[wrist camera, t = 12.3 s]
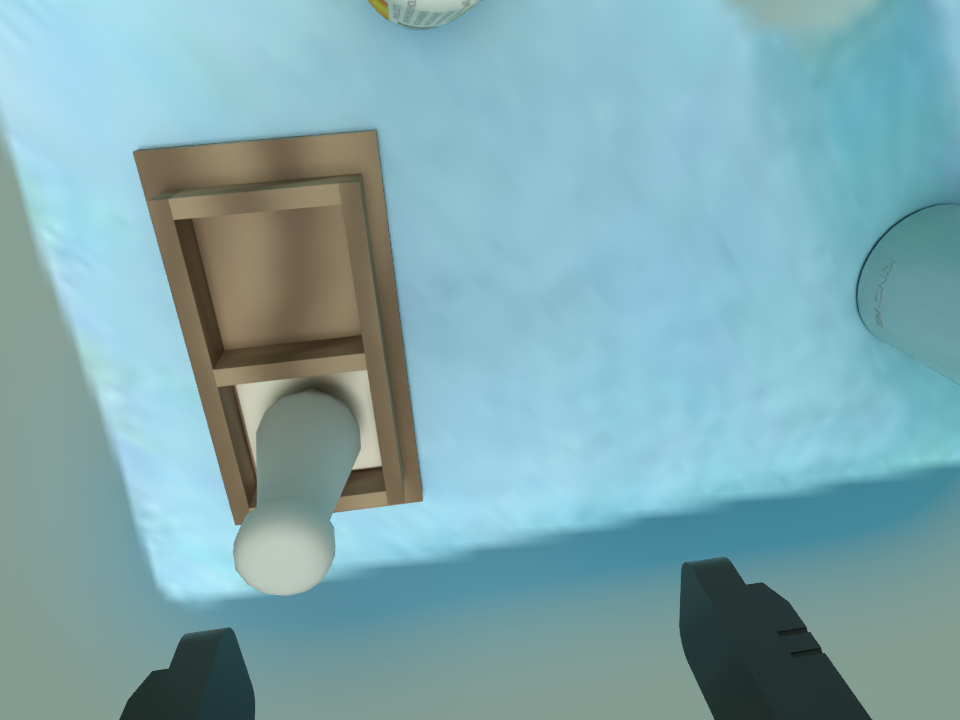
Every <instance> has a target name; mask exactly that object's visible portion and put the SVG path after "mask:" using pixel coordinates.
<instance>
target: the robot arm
mask: <svg viewBox="0 0 960 720" xmlns="http://www.w3.org/2000/svg"><path fill="white" fill-rule="evenodd" d="M857 301H858V307H859V313H860V315H861V318H862V320H863V322H864V324H865V326H866V327H867V328H868V329H869V330H870V332H871V333H872V334H874V335H875V336H876V337H878V338H879V339H881V340H882V341H884V342H886V343H888V344H889V345H891V346H893V347H895V348H896V349H898V350H900V351H902V352H903V353H905V354H907V355H909V356H910V357H912V358H914V359H916V360H917V361H919V362H920V363H922V364H924V365H925V366H927V367H929V368H931V369H932V370H934V371H936V372H938V373H939V374H941V375H943V376H945V377H946V378H948V379H950V380H952V381H953V382H955V383H957V384H959V385H960V205H956V204H944V205H936V206H932V207H929V208H926V209H922V210H920V211H918V212H916V213H914V214H912V215H910V216H908V217H906V218H905V219H904V220H902V221H901V222H900V223H898V224H897V225H896V226H894V227H893V228H892V229H891V230H890V231H889V232H888V233H887V234H886V235H885V236H884V237H883V238H882V239H881V240H880V241H879V243H878V244H877V245H876V247H875V248H874V250H873V251H872V253H871V254H870V255H869V258H868V260H867V262H866V264H865V266H864V268H863V270H862V274H861V277H860V281H859V285H858V297H857ZM680 594H681V595H680V620H679V622H680V623H679V628H680V636H681V641H682V646H683V649H684V653H685V656H686V659H687V661H688V664H689V666H690V668H691V670H692V672H693V674H694V676H695V679H696V681H697V683H698V685H699V687H700V689H701V691H702V694H703V696H704V698H705V700H706V702H707V704H708V706H709V709H710V711H711V713H712V715H713V717H714V719H715V720H872V719H871V718H870V716H869V715H868V713H867V712H866V711H865V709H864V708H863V706H862V705H861V704H860V702H859V701H858V699H857V698H856V696H855V695H854V694H853V692H852V691H851V689H850V688H849V686H848V685H847V684H846V682H845V681H844V679H843V678H842V677H841V675H840V674H839V672H838V671H837V669H836V668H835V667H834V666H833V664H832V662H831V661H830V660H829V658H828V657H827V655H826V654H825V653H822V650H821V647H820V645H819V644H818V643H817V641H816V640H815V638H814V637H813V635H812V634H811V633H810V632H808V631H807V627H806V626H805V624H804V623H803V621H802V620H801V619H800V617H799V616H798V614H797V613H796V612H795V610H794V609H793V607H792V606H791V604H790V603H789V602H788V601H787V600H785V599H784V598H782V597H781V596H780V595H779V594H777V593H776V592H775V591H773V590H772V589H770V588H769V587H768V586H766V585H765V584H764V583H755V584H748V585H746V584H745V583H744V581H743V580H742V578H741V576H740V575H739V573H738V572H737V570H736V569H735V567H734V566H733V564H732V563H731V562H730V561H729V559H728V558H726V557H720V558H713V559H706V560H699V561H692V562H685V563H684V564H683V565H682V569H681V593H680ZM119 720H255V697H254V691H253V687H252V683H251V680H250V678H249V674H248V671H247V668H246V666H245V663H244V659H243V656H242V653H241V650H240V648H239V644H238V641H237V638H236V635H235V633H234V631H233V630H232V629H231V628H222V629H215V630H208V631H201V632H194V633H188V634H185V635H184V636H183V637H182V638H181V640H180V642H179V644H178V647H177V649H176V652H175V654H174V657H173V659H172V662H171V665H170V667H169V669H163V670H157V671H152V672H151V673H150V675H149V676H148V677H147V678H146V679H145V680H144V682H143V683H142V684H141V685H140V686H139V687H138V689H137V690H136V691H135V692H134V693H133V695H132V696H131V697H130V698H129V699H128V701H127V703H126V706H125V708H124V710H123V713H122V715H121V717H120V719H119Z"/></svg>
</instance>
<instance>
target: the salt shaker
mask: <svg viewBox="0 0 960 720" xmlns="http://www.w3.org/2000/svg"><path fill="white" fill-rule="evenodd" d="M360 450H361V440H360V427H359V424H358V422H357V420H356V419H355V417H354V415H353V414H352V412H351V411H350V409H349V407H348V406H347V405H346V404H345V403H344V402H343V401H342V400H341V399H340V398H337V397H335V396H332V395H329V394H327V393H324V392H321V391H319V390H316V389H314V388H309V389H307V390H305V391H303V392H300V393H295V394H291V395H287V396H284V397H282V398H281V399H280V400H278V401H277V402H276V403H275V404H273V405H272V406H271V407H269V408H268V409H267V410H266V411H265V413H264V415H263V417H262V419H261V422H260V424H259V426H258V429H257V431H256V463H257V507H256V508H255V509H254V510H252V511H251V512H249V513H248V514H247V515H246V516H245V518H244V520H243V522H242V525H241V527H240V529H239V532H238V534H237V536H236V539H235V541H234V549H233V555H234V562H235V569H236V571H237V572H238V573H239V575H240V576H241V577H242V578H243V579H244V581H245V582H246V583H247V584H248V585H250V586H252V587H254V588H256V589H258V590H260V591H262V592H264V593H266V594H275V595H285V596H288V595H292V594H297V593H301V592H305V591H308V590H310V589H311V588H312V587H314V586H315V585H316V584H318V583H319V582H321V581H322V580H323V579H324V577H325V575H326V573H327V571H328V570H329V568H330V566H331V564H332V561H333V559H334V556H335V536H334V527H333V525H332V523H331V522H330V518H331V516H332V514H333V511H334V509H335V507H336V505H337V502H338V500H339V498H340V495H341V493H342V491H343V489H344V486H345V484H346V482H347V480H348V477H349V475H350V473H351V470H352V468H353V466H354V464H355V461H356V459H357V457H358V455H359V452H360Z"/></svg>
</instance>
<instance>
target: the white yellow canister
mask: <svg viewBox="0 0 960 720" xmlns="http://www.w3.org/2000/svg"><path fill="white" fill-rule="evenodd" d="M368 1H369V2H370V4H371V5H372V6H373V7H374V8H375V9H376V11H378V12H379V13H380V14H381V15H382V16H383V17H385V18H386V19H388V20H389V21H391V22H393V23H395V24H397V25H399V26H402V27H405V28H409V29H416V30H426V29H433V28H437V27H440V26H442V25H445V24H447V23H449V22H450V21H452V20H454V19H455V18H456V17H458V16H459V15H461V14H462V13H464V12H465V11H467V10H468V9H470V8H471V7H473V6H474V5H476V4H477V3H479V2H480V1H482V0H368Z"/></svg>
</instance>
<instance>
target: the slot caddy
mask: <svg viewBox="0 0 960 720" xmlns="http://www.w3.org/2000/svg"><path fill="white" fill-rule="evenodd" d="M133 155H134V158H135V162H136V166H137V169H138V173H139V176H140V180H141V184H142V187H143V191H144V195H145V198H146V202H147V206H148V209H149V213H150V216H151V220H152V224H153V227H154V231H155V235H156V238H157V242H158V246H159V249H160V253H161V257H162V260H163V264H164V267H165V271H166V275H167V278H168V282H169V286H170V289H171V293H172V297H173V300H174V304H175V307H176V311H177V315H178V318H179V322H180V326H181V329H182V333H183V337H184V340H185V344H186V348H187V351H188V355H189V358H190V362H191V366H192V369H193V373H194V377H195V380H196V384H197V388H198V391H199V395H200V398H201V402H202V406H203V409H204V413H205V417H206V420H207V424H208V428H209V431H210V435H211V439H212V442H213V446H214V449H215V453H216V457H217V460H218V464H219V468H220V471H221V475H222V479H223V482H224V486H225V489H226V493H227V497H228V500H229V504H230V508H231V511H232V515H233V519H234V522H235V525H242V522H243V520H244V518H245V516H246V515H247V514H248V513H249V512H251V511H252V510H254V509H255V508H256V507H257V463H256V431H257V429H258V426H259V424H260V422H261V419H262V417H263V415H264V413H265V411H266V410H267V409H268V408H269V407H271V406H272V405H273V404H275V403H276V402H277V401H278V400H280V399H281V398H282V397H284V396H287V395H291V394H295V393H300V392H303V391H305V390H307V389H309V388H314V389H316V390H319V391H321V392H324V393H327V394H329V395H332V396H335V397H337V398H340V399H341V400H342V401H343V402H344V403H345V404H346V405H347V406H348V407H349V409H350V411H351V412H352V414H353V415H354V417H355V419H356V420H357V422H358V424H359V427H360V440H361V450H360V452H359V455H358V457H357V459H356V461H355V464H354V466H353V468H352V470H351V473H350V475H349V477H348V480H347V482H346V484H345V486H344V489H343V491H342V493H341V495H340V498H339V500H338V502H337V505H336V507H335V509H334V511H333V513H335V512H343V511H351V510H358V509H366V508H374V507H382V506H389V505H397V504H405V503H413V502H421V501H423V495H422V487H421V479H420V471H419V463H418V455H417V448H416V440H415V432H414V424H413V416H412V409H411V401H410V393H409V385H408V377H407V369H406V362H405V354H404V346H403V338H402V330H401V322H400V315H399V307H398V299H397V291H396V283H395V276H394V268H393V260H392V252H391V244H390V236H389V229H388V221H387V213H386V205H385V197H384V190H383V182H382V174H381V166H380V158H379V150H378V143H377V135H376V130H368V131H356V132H344V133H332V134H320V135H309V136H297V137H285V138H273V139H262V140H250V141H238V142H226V143H214V144H203V145H191V146H179V147H167V148H155V149H144V150H137V151H134V152H133Z"/></svg>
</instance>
